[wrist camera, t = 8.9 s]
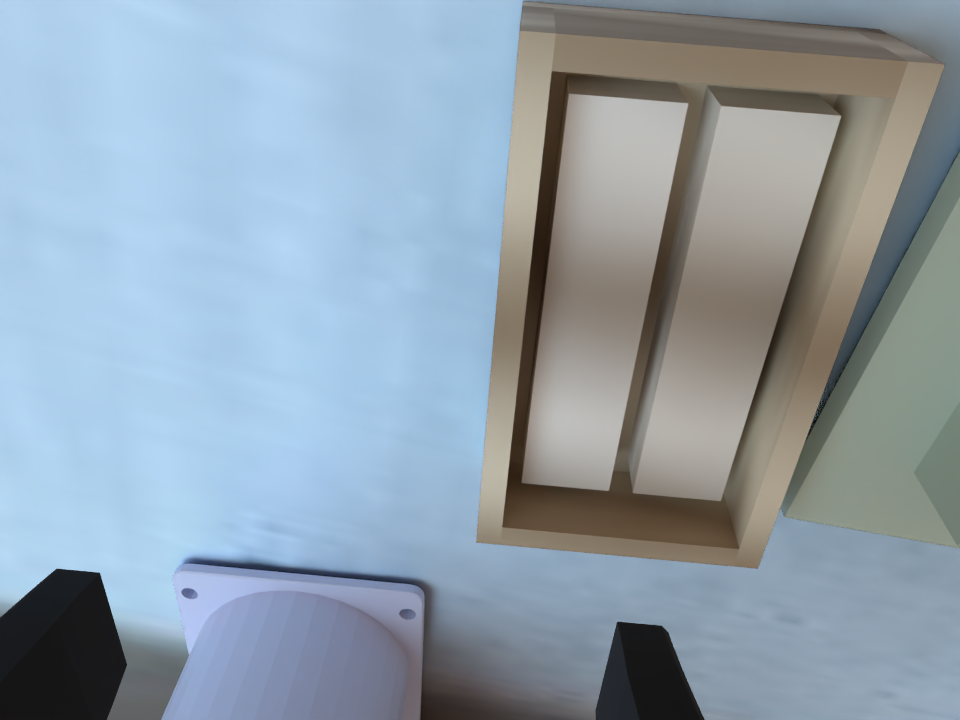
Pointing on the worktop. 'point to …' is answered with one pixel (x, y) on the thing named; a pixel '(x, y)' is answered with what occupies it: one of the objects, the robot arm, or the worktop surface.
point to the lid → (896, 403)
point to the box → (681, 269)
